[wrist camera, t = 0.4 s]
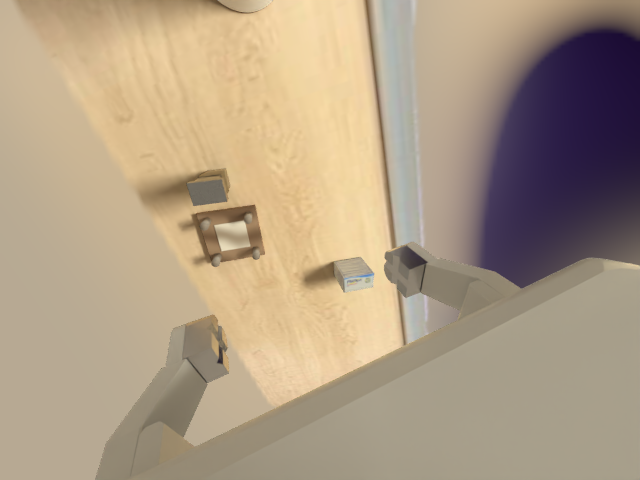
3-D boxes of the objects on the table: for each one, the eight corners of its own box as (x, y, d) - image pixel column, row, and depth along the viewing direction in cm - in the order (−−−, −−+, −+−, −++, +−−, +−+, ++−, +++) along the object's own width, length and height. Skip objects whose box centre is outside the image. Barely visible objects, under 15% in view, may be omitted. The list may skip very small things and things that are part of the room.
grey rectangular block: (203, 170, 47) (186, 182, 36) (229, 167, 48) (221, 178, 37) (208, 189, 49) (193, 206, 38) (234, 186, 50) (227, 202, 39)
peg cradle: (197, 212, 50) (192, 220, 46) (255, 204, 52) (254, 211, 48) (213, 261, 56) (209, 271, 51) (264, 252, 58) (265, 261, 54)
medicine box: (333, 274, 65) (343, 293, 58) (333, 260, 63) (343, 278, 56) (360, 269, 67) (373, 287, 59) (360, 256, 65) (374, 272, 57)
